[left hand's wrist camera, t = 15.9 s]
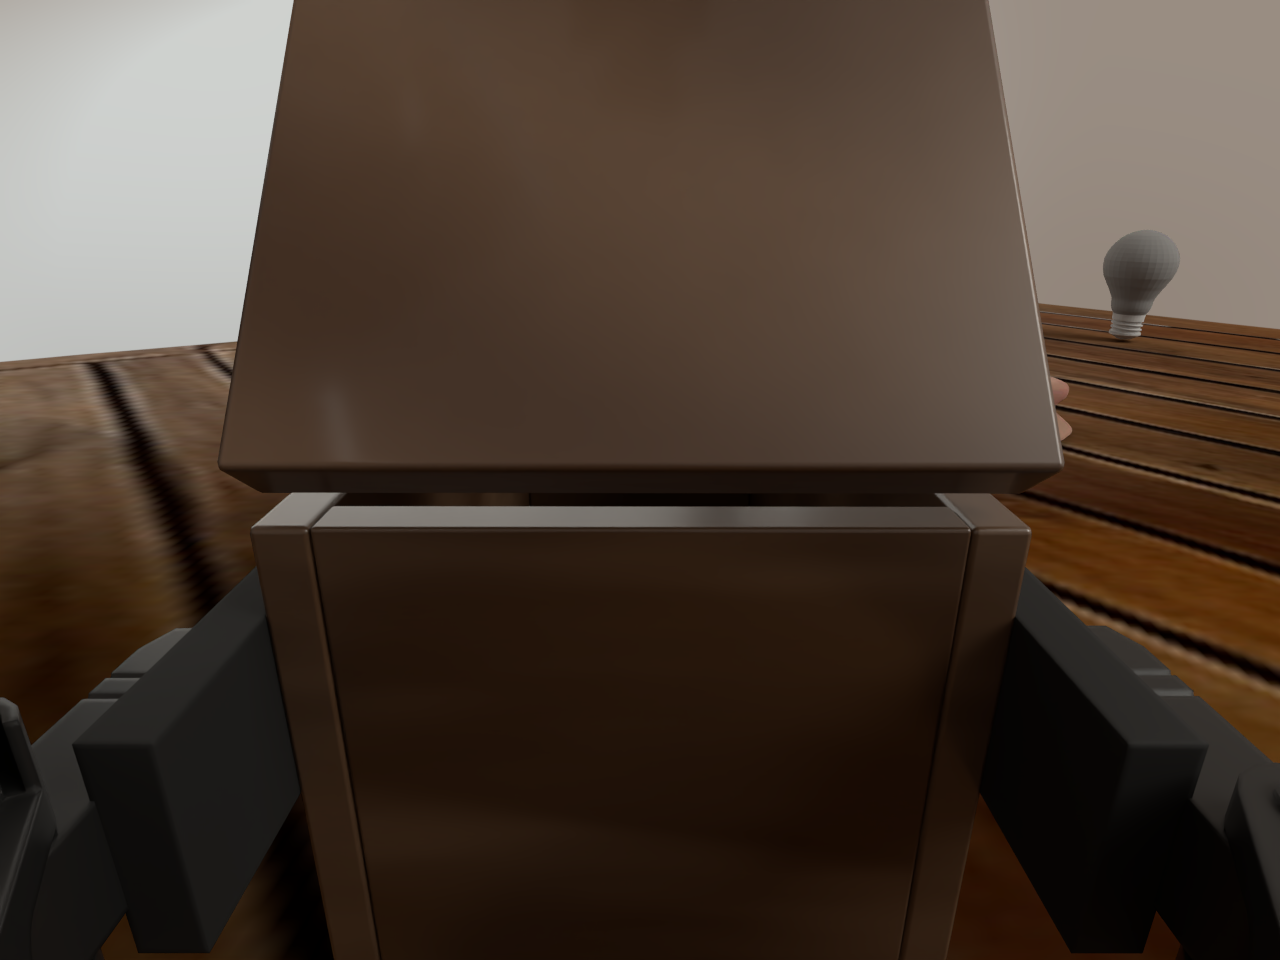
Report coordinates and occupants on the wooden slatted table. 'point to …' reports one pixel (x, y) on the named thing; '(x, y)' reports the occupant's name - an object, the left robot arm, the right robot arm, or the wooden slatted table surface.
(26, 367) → the wooden slatted table surface
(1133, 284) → the light bulb
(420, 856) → the chest
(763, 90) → the lid
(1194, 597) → the wooden slatted table surface
